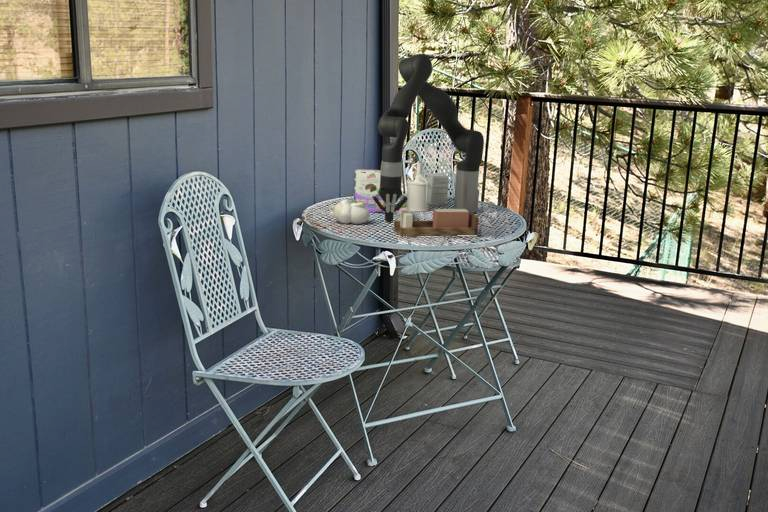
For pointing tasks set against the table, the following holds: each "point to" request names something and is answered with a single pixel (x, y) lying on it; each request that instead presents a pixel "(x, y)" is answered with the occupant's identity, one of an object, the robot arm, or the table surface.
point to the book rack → (426, 228)
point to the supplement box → (437, 188)
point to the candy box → (368, 189)
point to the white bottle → (418, 191)
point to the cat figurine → (350, 212)
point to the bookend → (406, 219)
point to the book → (450, 218)
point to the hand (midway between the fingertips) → (388, 222)
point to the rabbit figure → (404, 209)
